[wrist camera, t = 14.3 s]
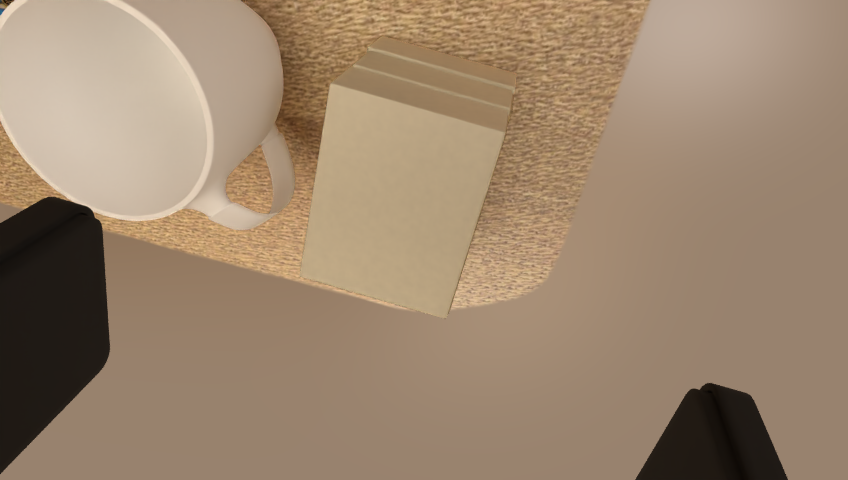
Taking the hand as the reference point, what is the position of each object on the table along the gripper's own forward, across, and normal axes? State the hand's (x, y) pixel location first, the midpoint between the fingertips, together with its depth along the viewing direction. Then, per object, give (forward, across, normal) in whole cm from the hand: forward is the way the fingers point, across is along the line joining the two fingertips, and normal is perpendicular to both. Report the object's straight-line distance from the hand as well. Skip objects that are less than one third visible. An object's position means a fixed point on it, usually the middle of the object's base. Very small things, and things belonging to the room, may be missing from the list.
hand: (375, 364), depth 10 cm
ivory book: (+18, +2, +5) cm, 19 cm away
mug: (+24, +12, +4) cm, 27 cm away
